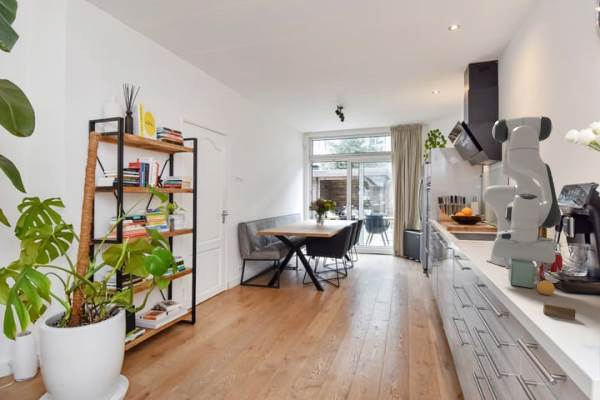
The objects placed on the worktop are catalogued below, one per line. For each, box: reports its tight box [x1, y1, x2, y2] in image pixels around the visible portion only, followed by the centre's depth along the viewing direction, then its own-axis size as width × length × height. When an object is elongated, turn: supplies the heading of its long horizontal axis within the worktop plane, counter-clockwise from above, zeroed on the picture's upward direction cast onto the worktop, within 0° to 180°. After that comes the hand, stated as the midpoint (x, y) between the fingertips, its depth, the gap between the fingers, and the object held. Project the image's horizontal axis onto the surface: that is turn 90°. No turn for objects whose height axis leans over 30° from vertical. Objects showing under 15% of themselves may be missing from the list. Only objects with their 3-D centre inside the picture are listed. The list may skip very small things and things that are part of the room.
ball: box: [536, 280, 556, 296], centre depth 112 cm, size 5×5×5 cm
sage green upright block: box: [507, 258, 536, 289], centre depth 124 cm, size 11×7×9 cm, turn 150°
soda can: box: [538, 251, 564, 281], centre depth 128 cm, size 7×7×12 cm
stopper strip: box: [542, 302, 577, 321], centre depth 93 cm, size 2×7×3 cm, turn 60°
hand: (520, 270), depth 124 cm, fingers closed on sage green upright block, 7 cm apart
